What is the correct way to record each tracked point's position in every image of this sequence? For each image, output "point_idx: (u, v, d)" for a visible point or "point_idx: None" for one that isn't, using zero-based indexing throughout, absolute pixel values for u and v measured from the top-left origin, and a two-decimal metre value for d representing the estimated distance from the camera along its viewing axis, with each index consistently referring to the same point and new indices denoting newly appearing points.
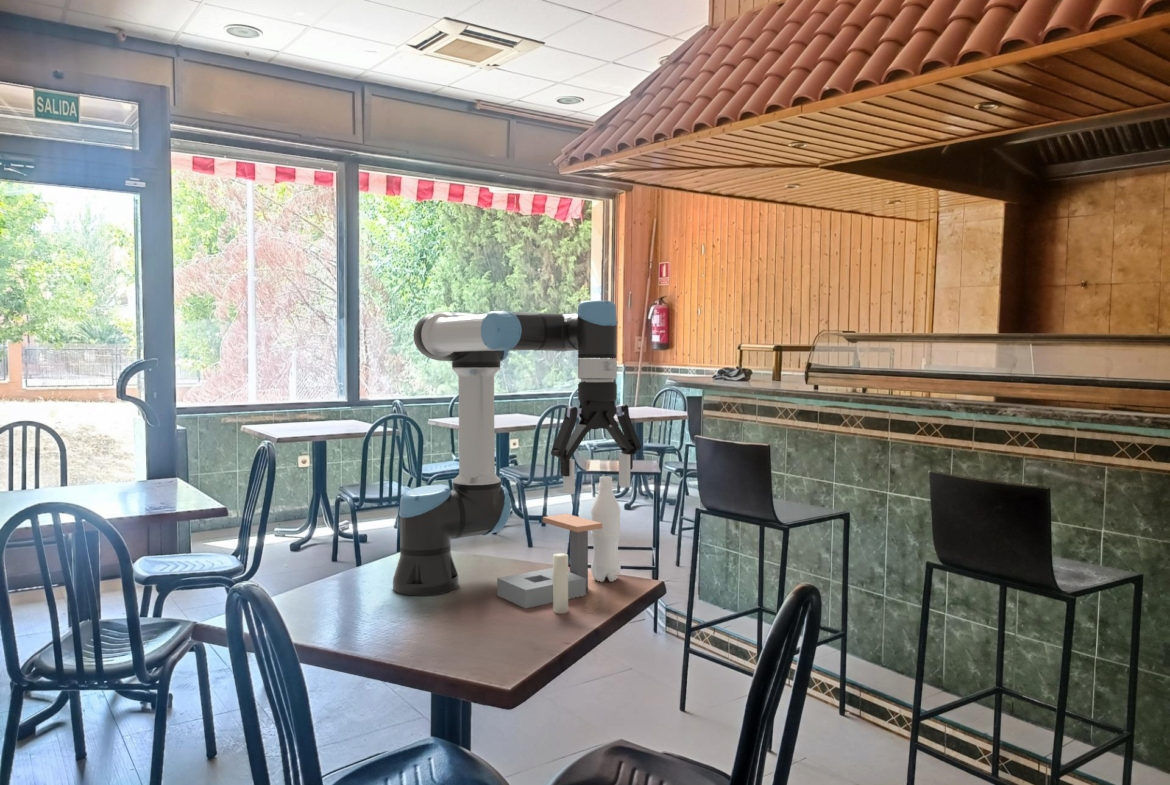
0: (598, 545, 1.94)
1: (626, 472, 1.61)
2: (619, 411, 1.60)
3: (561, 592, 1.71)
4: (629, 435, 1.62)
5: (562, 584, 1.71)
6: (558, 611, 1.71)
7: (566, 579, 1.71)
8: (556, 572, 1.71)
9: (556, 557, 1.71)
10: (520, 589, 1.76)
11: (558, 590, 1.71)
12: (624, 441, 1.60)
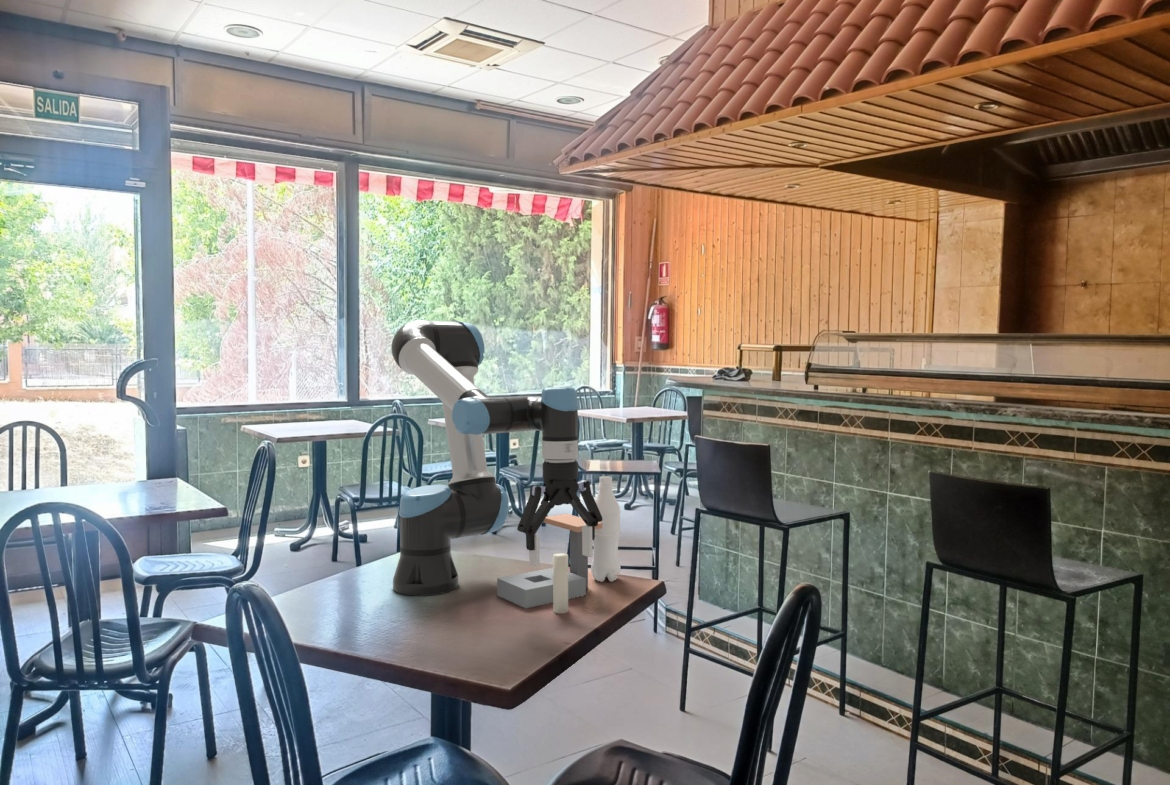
0: (598, 545, 1.94)
1: (588, 543, 1.74)
2: (581, 487, 1.74)
3: (561, 592, 1.71)
4: (591, 508, 1.75)
5: (562, 584, 1.71)
6: (558, 611, 1.71)
7: (566, 579, 1.71)
8: (556, 572, 1.71)
9: (556, 557, 1.71)
10: (520, 589, 1.76)
11: (558, 590, 1.71)
12: (586, 515, 1.74)
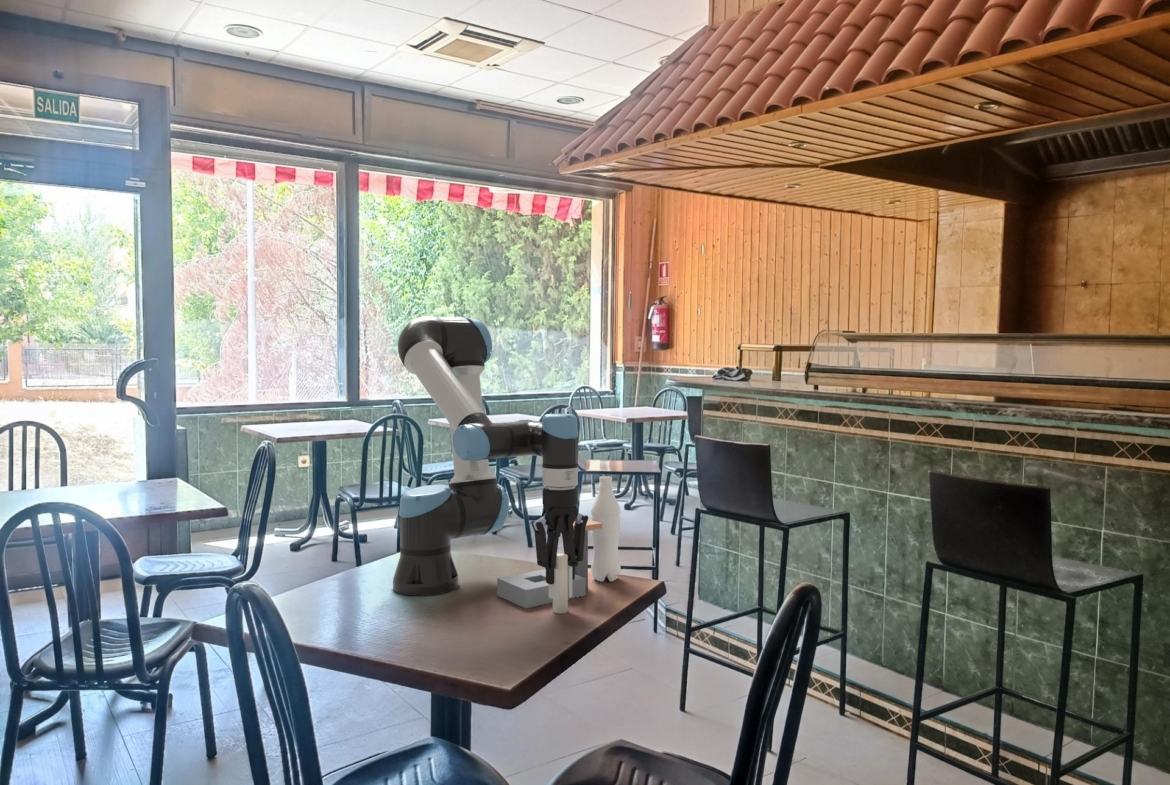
0: (598, 545, 1.94)
1: (568, 583, 1.72)
2: (579, 518, 1.74)
3: (560, 592, 1.70)
4: (577, 544, 1.74)
5: (561, 584, 1.70)
6: (557, 611, 1.71)
7: (566, 579, 1.71)
8: None
9: None
10: (520, 589, 1.76)
11: None
12: (571, 550, 1.72)
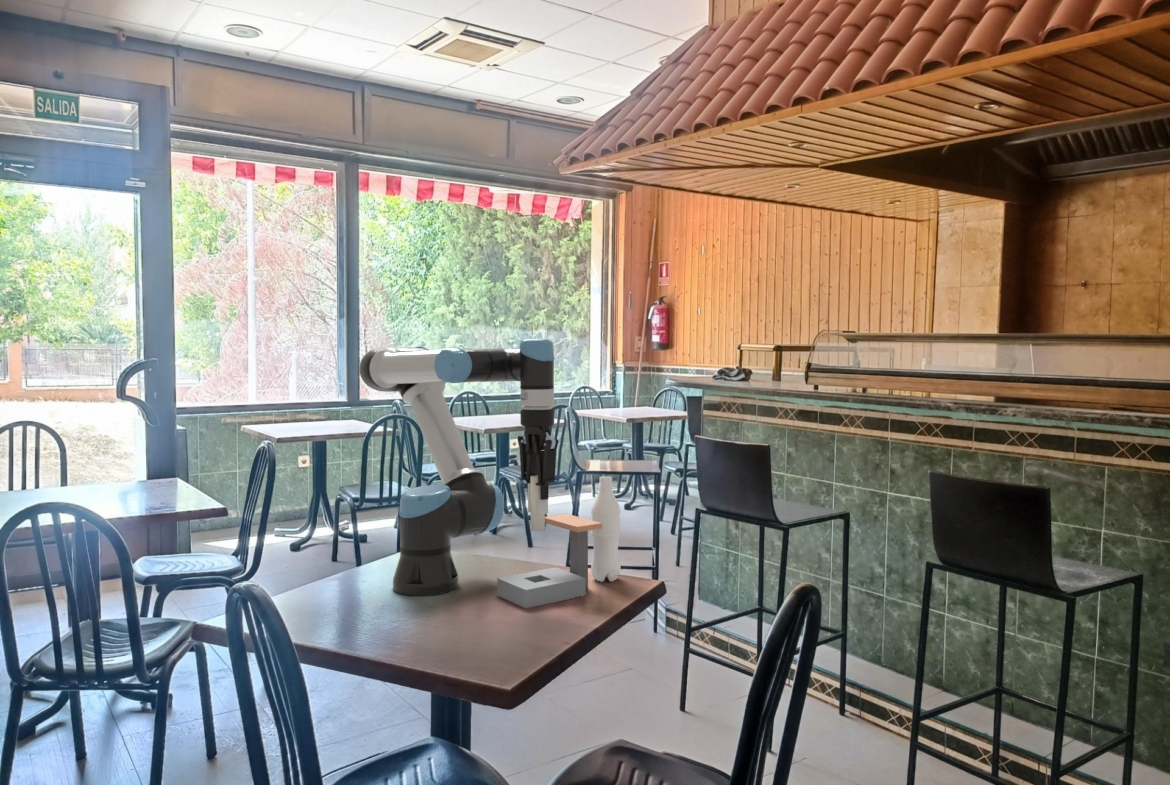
0: (598, 545, 1.94)
1: None
2: None
3: None
4: None
5: None
6: None
7: (533, 499, 1.81)
8: None
9: None
10: (520, 589, 1.76)
11: None
12: (537, 470, 1.80)
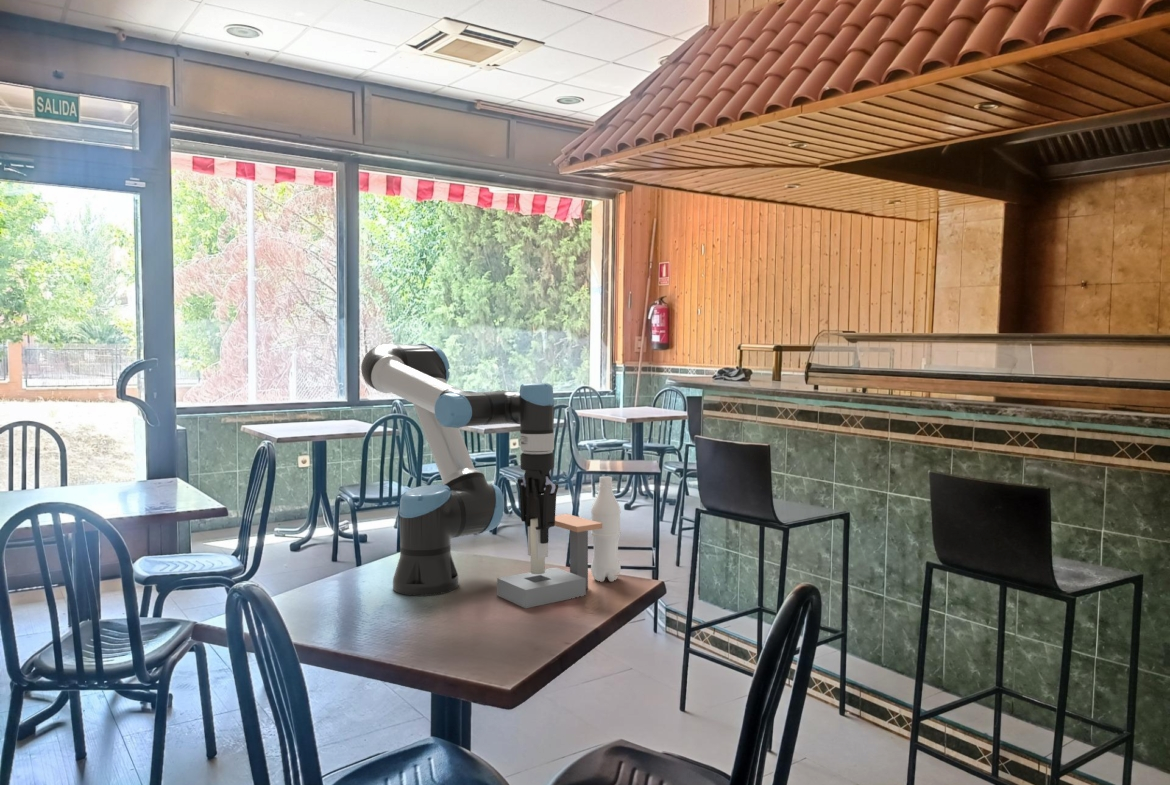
0: (598, 545, 1.94)
1: None
2: None
3: None
4: None
5: None
6: None
7: (533, 542, 1.81)
8: None
9: None
10: (520, 589, 1.76)
11: None
12: (537, 514, 1.80)
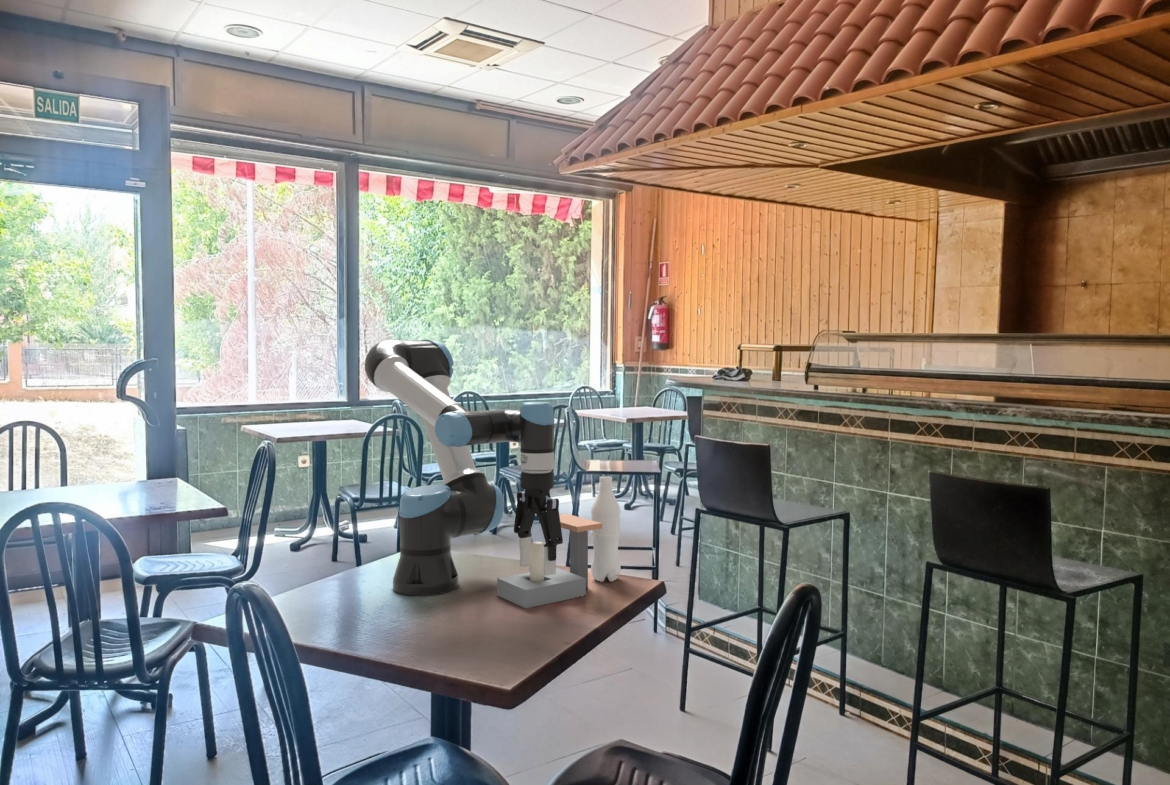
0: (598, 545, 1.94)
1: None
2: None
3: None
4: None
5: None
6: None
7: (532, 566, 1.82)
8: None
9: None
10: (520, 589, 1.76)
11: None
12: (543, 532, 1.78)
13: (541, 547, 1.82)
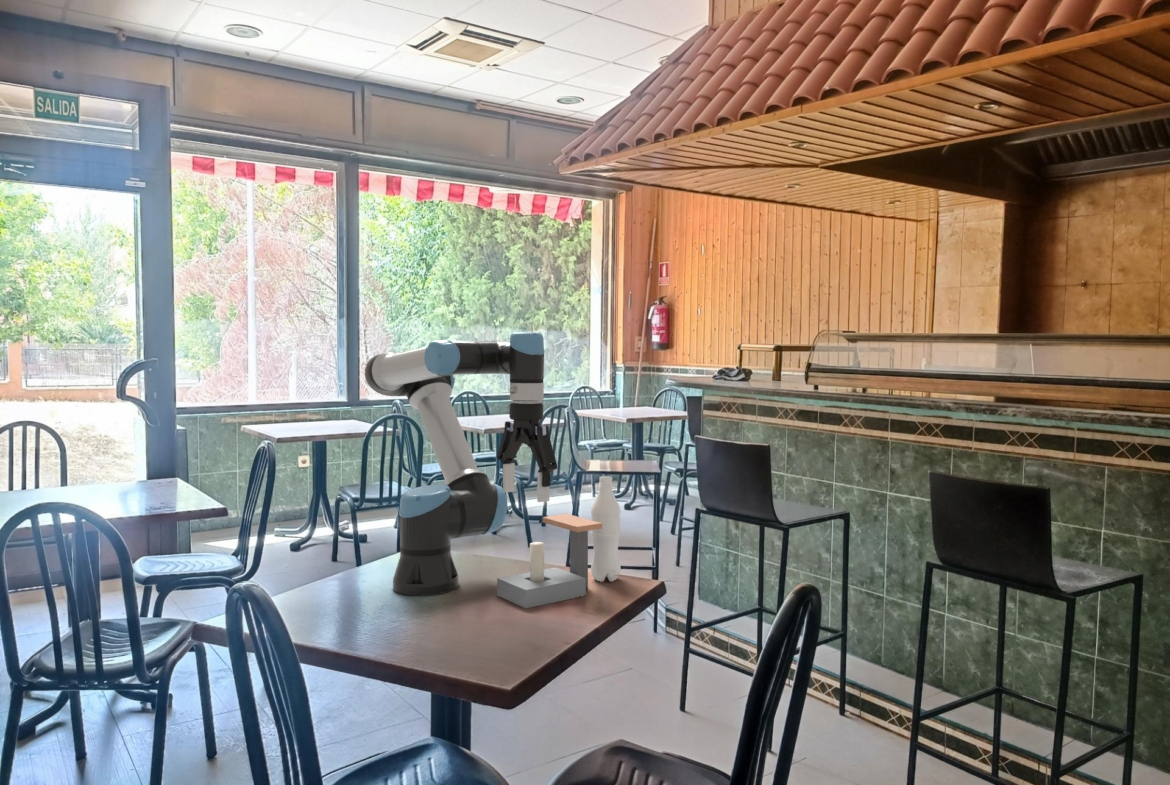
0: (598, 545, 1.94)
1: None
2: None
3: (530, 576, 1.83)
4: None
5: (530, 569, 1.83)
6: None
7: (532, 566, 1.82)
8: None
9: None
10: (520, 589, 1.76)
11: None
12: (536, 459, 1.76)
13: (542, 547, 1.82)
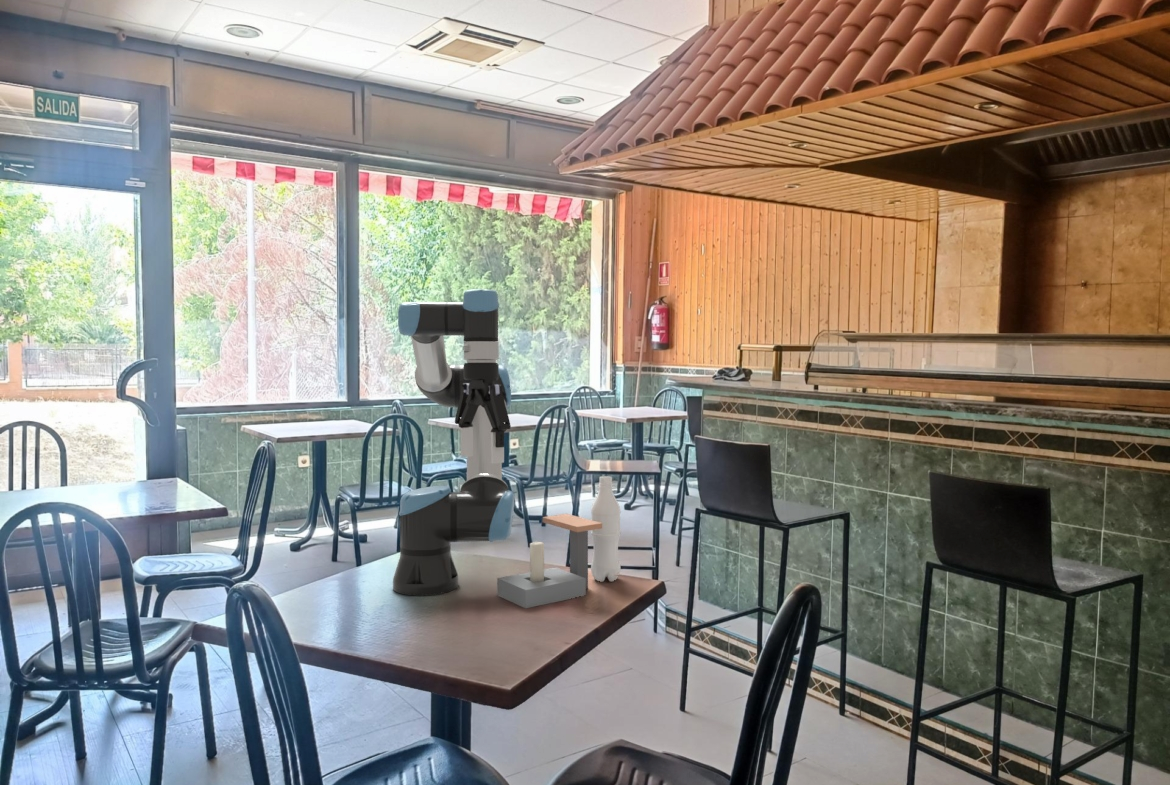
0: (598, 545, 1.94)
1: None
2: None
3: (530, 576, 1.83)
4: None
5: (530, 569, 1.83)
6: None
7: (532, 566, 1.82)
8: None
9: None
10: (520, 589, 1.76)
11: None
12: (489, 419, 1.70)
13: (542, 547, 1.82)
